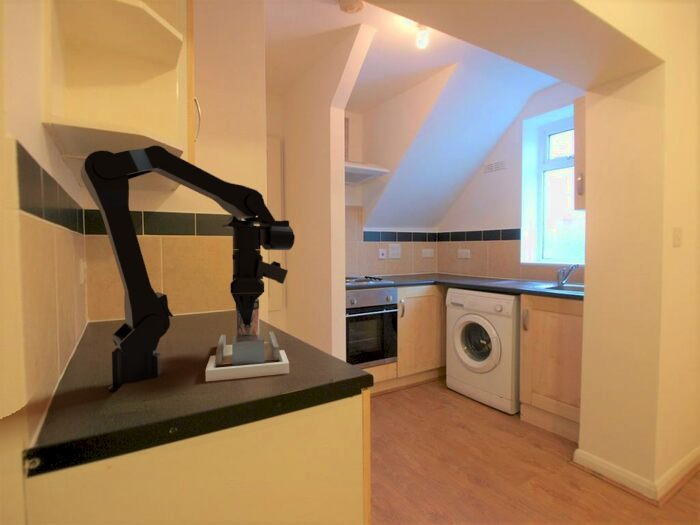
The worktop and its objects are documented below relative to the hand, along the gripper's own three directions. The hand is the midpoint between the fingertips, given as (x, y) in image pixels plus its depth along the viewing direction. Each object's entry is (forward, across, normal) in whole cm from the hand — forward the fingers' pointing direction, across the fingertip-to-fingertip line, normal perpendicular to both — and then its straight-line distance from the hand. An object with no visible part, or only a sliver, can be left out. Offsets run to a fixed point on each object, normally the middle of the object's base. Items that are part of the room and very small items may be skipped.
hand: (247, 322), depth 76 cm
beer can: (+6, 0, 0) cm, 6 cm away
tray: (+8, -10, 0) cm, 13 cm away
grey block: (+7, -5, 0) cm, 8 cm away
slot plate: (+8, +2, 0) cm, 8 cm away
